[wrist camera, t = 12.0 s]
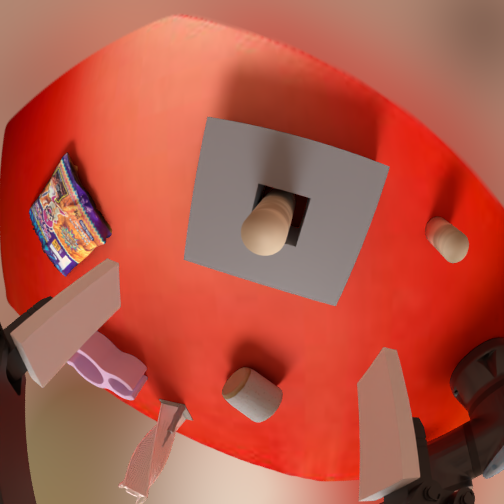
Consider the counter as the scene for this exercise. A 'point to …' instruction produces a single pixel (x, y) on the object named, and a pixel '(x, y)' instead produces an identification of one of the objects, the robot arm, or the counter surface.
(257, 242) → the long pin
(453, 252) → the short pin
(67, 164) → the food package
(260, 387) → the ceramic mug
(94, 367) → the clip
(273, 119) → the counter surface
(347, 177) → the hole block
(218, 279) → the counter surface
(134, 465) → the skyscraper
